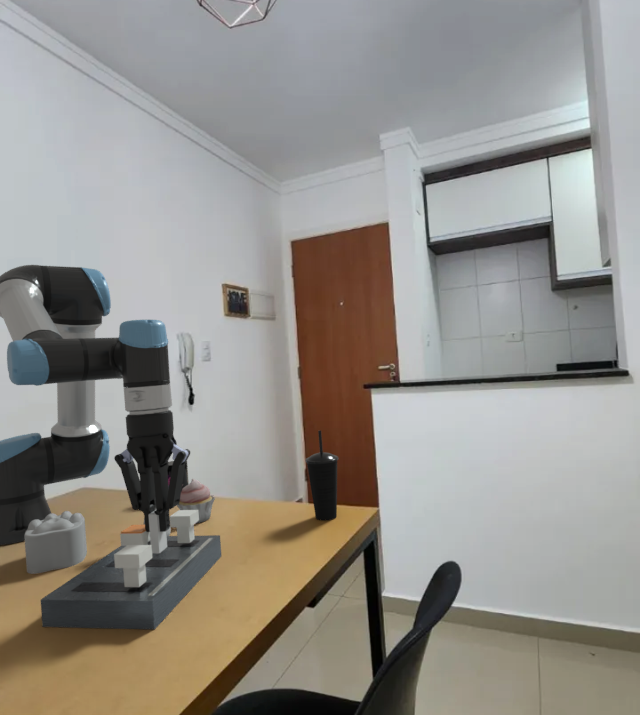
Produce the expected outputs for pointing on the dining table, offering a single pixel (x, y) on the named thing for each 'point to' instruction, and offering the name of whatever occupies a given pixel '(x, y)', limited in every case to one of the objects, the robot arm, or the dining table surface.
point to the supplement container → (185, 477)
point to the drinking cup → (323, 483)
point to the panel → (131, 588)
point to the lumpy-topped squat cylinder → (55, 542)
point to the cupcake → (197, 499)
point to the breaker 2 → (184, 524)
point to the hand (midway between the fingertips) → (159, 549)
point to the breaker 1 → (133, 563)
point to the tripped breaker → (135, 535)
